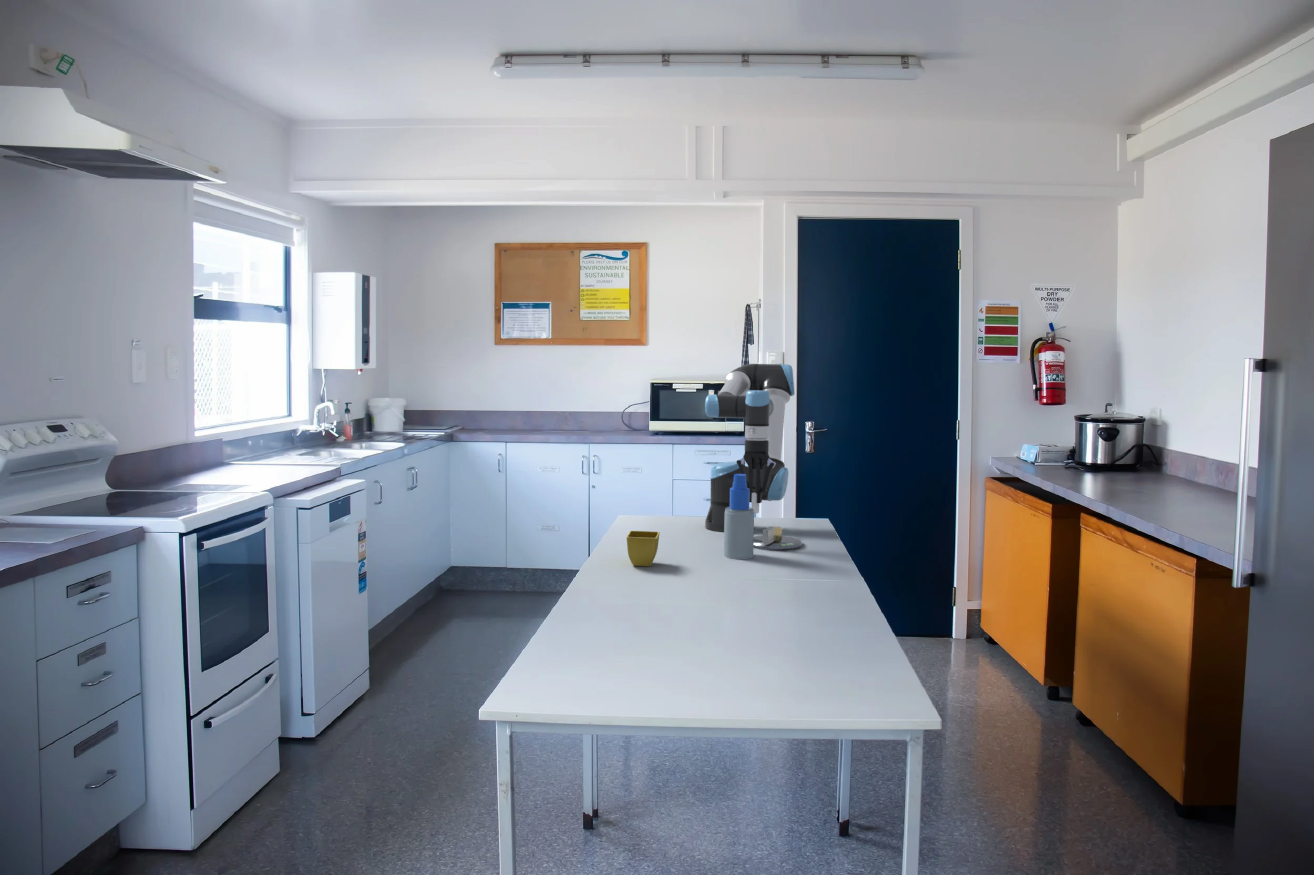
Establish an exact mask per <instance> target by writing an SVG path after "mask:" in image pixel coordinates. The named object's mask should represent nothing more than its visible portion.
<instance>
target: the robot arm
mask: <svg viewBox="0 0 1314 875" xmlns="http://www.w3.org/2000/svg"><path fill="white" fill-rule="evenodd" d="M793 369H794V368H793V367H792V365H791V364H785V363H784V364H783V363H779V364H776V363H749V364H744V365H741V366H738V367H737V368H735V369H733V370H732V371H730V372H729V373H728V375H727V376H726V377H725V379H724V385H723V386H722V388H721V389H720V391H719V392H718V393H717V394H708V395H707V396H706V398H705V402H704V409H705V410H704V411H705V414H706V416H707V418H708V417H709V418H716V419H723V418H724V419H745V424H744V425H745V426H744V427H745V428H744V429H745V430H744V437H745V441H744V454H743V456H742V458H740V459H738V460H736V461H725V462H720V463H716V464H714V465H713V466H712V467H711V470H710V477H709V478H710V506H709V508H708V511H707V516H706V518H705V522H704V523H705V524H704V525H705V526H704V528H705V529H708V530H710V531H714V532H715V531H716V532H724V523H725V508H727V507H730V488H733V482H734V474H746V483H747V488H749V489H750V499H749V503H751V508H753V509H754V515H756V514H759V513H760V504H761V503H762V502H763V501H768V502H771V501H772V502H774V501H775V502H776V501H781V500H783V498H784V497H785V494H786V492H787V491H786V490H787V487H788V482H789V480H788V479H789V468H787V467H785V465H786V464H785V462H784V461H783V460H782V450H783V437H784V427H785V426H784V425H785V414H786V412H785V411H786V404H787V403H789V402H790V400H791V397H793V396H795V381H794V370H793Z"/></svg>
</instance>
